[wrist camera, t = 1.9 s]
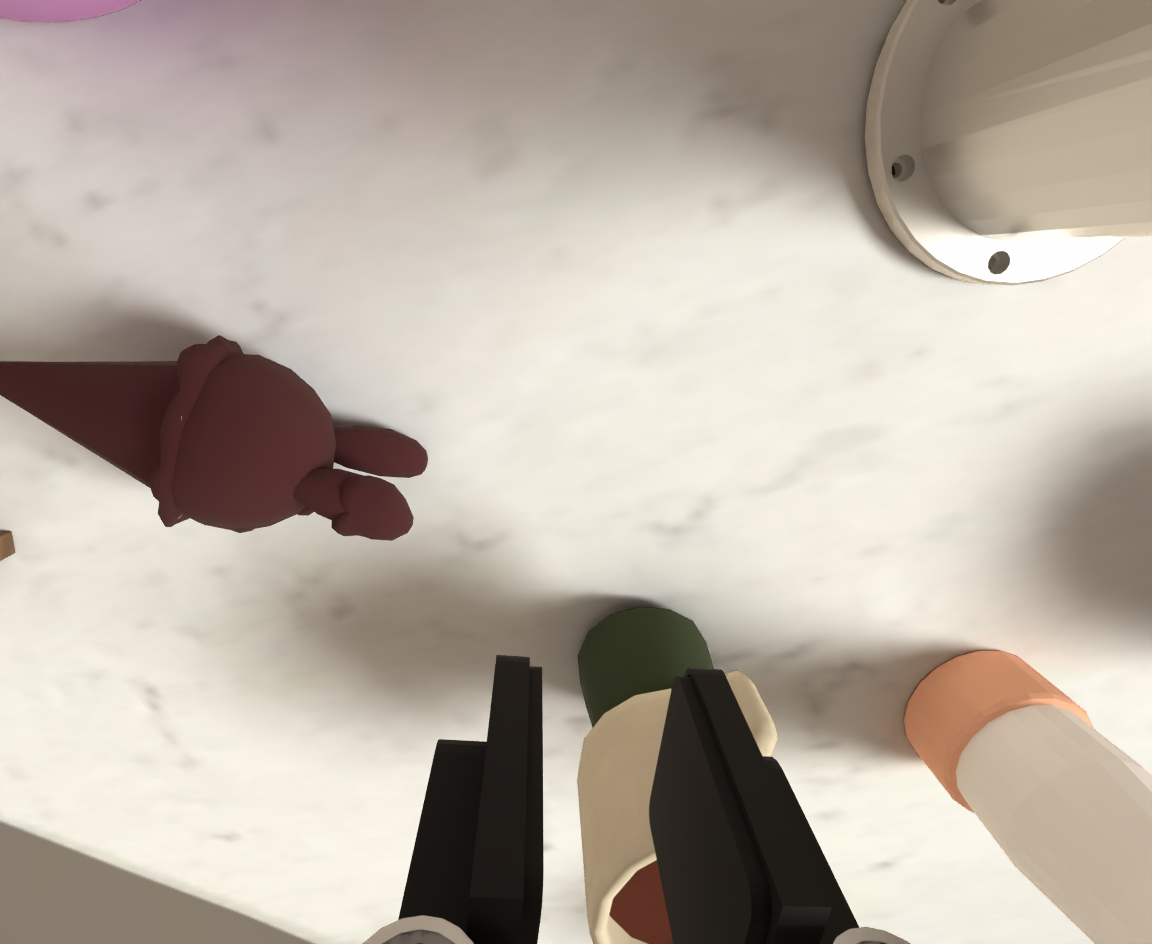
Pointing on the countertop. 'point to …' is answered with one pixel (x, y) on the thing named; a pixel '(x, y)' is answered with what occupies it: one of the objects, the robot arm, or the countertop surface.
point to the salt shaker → (1042, 788)
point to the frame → (6, 544)
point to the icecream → (224, 439)
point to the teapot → (59, 9)
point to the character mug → (636, 762)
